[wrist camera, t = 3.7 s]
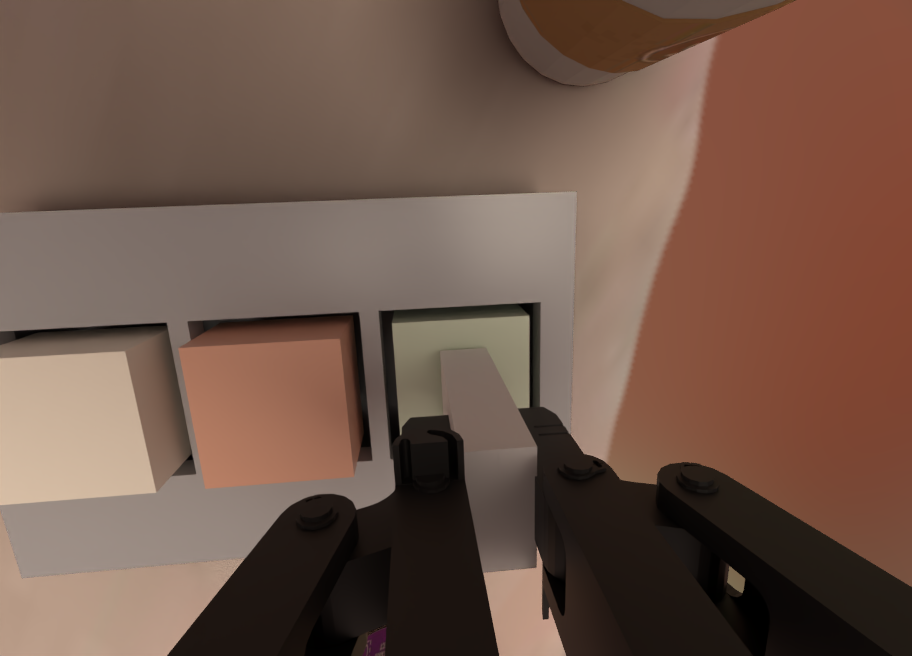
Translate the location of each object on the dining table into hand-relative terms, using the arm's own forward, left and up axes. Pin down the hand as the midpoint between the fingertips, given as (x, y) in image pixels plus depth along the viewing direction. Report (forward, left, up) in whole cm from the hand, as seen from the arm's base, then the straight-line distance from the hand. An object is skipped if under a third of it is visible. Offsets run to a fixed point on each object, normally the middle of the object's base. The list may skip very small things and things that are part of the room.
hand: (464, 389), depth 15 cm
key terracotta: (0, -6, -2) cm, 6 cm away
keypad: (0, -6, -5) cm, 8 cm away
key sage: (0, 0, -3) cm, 3 cm away
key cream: (0, -12, -2) cm, 12 cm away
